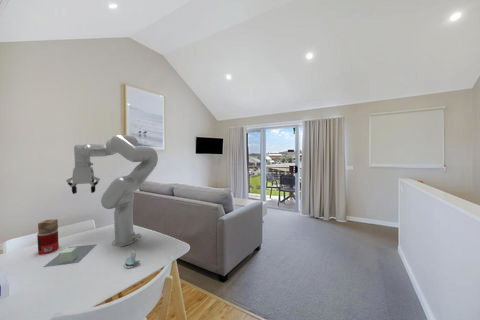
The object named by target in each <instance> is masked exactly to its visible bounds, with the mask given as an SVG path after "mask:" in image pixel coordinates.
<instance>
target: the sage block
mask: <svg viewBox="0 0 480 320" xmlns="http://www.w3.org/2000/svg"><path fill="white" fill-rule="evenodd" d="M72 247H73V248H68V247H66V248H63V249H62V250H61V251H60V252H58V255H59V264H61V263H69V262H72V261H73V260H74V259H76V258H77V247H76V246H72Z"/></svg>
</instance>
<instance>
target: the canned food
mask: <svg viewBox="0 0 480 320" xmlns="http://www.w3.org/2000/svg"><path fill="white" fill-rule="evenodd" d="M36 238H37V253H38V255H47V254H48V255H49V254H51V253H54V252H56V251H58V250H59V246H60V245H59V228H58V229H57V230H55V231H54V232H52V233H44V234H38V233H37V235H36Z"/></svg>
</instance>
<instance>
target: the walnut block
mask: <svg viewBox="0 0 480 320" xmlns="http://www.w3.org/2000/svg"><path fill="white" fill-rule="evenodd" d="M58 224H59V220H58V218H55V219H45V220H42V221H41V222H38V224H37V229H38V230H37V231H38V233H37V234H44V233H52V232H54V231H55V230H57V229H58V230H59V225H58Z"/></svg>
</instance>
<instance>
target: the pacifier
mask: <svg viewBox="0 0 480 320" xmlns="http://www.w3.org/2000/svg"><path fill="white" fill-rule="evenodd" d="M136 256H137V252H136V251H135V250H132V251H131V253H130V256H129V257H127V258H126V259H125V262H124V263H123V267H124V269H125V268H126V269H132V268H134V267H135V266H136V265H137V263H139V262H140V261H141V260H137V259H136Z"/></svg>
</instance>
